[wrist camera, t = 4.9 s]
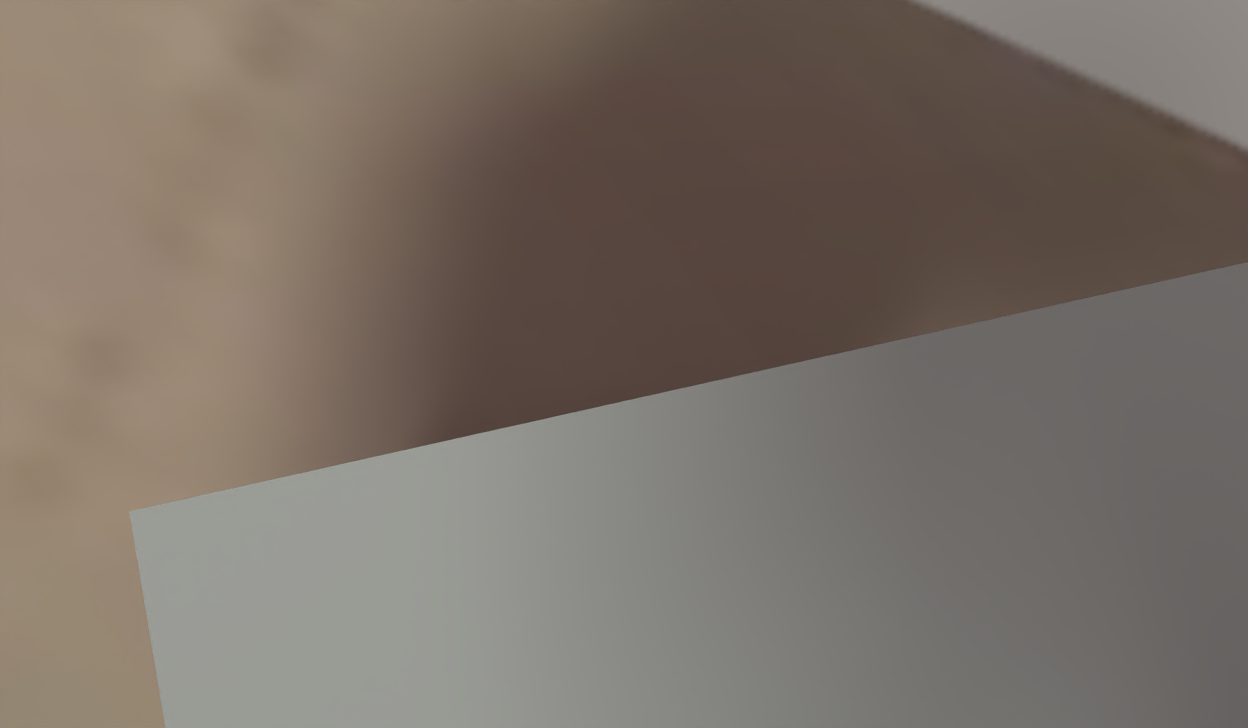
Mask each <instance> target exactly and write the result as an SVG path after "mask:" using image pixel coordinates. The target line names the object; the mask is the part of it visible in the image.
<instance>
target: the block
mask: <svg viewBox="0 0 1248 728" xmlns="http://www.w3.org/2000/svg"><path fill="white" fill-rule="evenodd" d="M129 513H130V519H131V525H132V531H133V537H134V543H135V549H136V555H137V561H138V567H139V573H140V579H141V585H142V591H143V597H144V603H145V609H146V615H147V621H148V627H149V633H150V639H151V645H152V651H153V657H154V663H155V669H156V675H157V681H158V686H159V692H160V698H161V704H162V710H163V716H164V722H165V728H1248V262H1245V263H1241V264H1237V265H1232V266H1228V267H1223V268H1219V269H1214V270H1210V271H1205V272H1201V273H1196V274H1192V275H1187V276H1183V277H1178V278H1174V279H1169V280H1165V281H1160V282H1156V283H1151V284H1147V285H1142V286H1138V287H1133V288H1129V289H1124V290H1120V291H1116V292H1111V293H1107V294H1102V295H1098V296H1093V297H1089V298H1084V299H1080V300H1075V301H1071V302H1066V303H1062V304H1057V305H1053V306H1048V307H1044V308H1039V309H1035V310H1030V311H1026V312H1021V313H1017V314H1012V315H1008V316H1003V317H999V318H994V319H990V320H986V321H981V322H977V323H972V324H968V325H963V326H959V327H954V328H950V329H945V330H941V331H936V332H932V333H927V334H923V335H918V336H914V337H909V338H905V339H900V340H896V341H891V342H887V343H882V344H878V345H873V346H869V347H864V348H860V349H856V350H851V351H847V352H842V353H838V354H833V355H829V356H824V357H820V358H815V359H811V360H806V361H802V362H797V363H793V364H788V365H784V366H779V367H775V368H770V369H766V370H761V371H757V372H752V373H748V374H743V375H739V376H734V377H730V378H726V379H721V380H717V381H712V382H708V383H703V384H699V385H694V386H690V387H685V388H681V389H676V390H672V391H667V392H663V393H658V394H654V395H649V396H645V397H640V398H636V399H631V400H627V401H622V402H618V403H613V404H609V405H604V406H600V407H596V408H591V409H587V410H582V411H578V412H573V413H569V414H564V415H560V416H555V417H551V418H546V419H542V420H537V421H533V422H528V423H524V424H519V425H515V426H510V427H506V428H501V429H497V430H492V431H488V432H483V433H479V434H475V435H470V436H466V437H461V438H457V439H452V440H448V441H443V442H439V443H434V444H430V445H425V446H421V447H416V448H412V449H407V450H403V451H398V452H394V453H389V454H385V455H380V456H376V457H371V458H367V459H362V460H358V461H353V462H349V463H345V464H340V465H336V466H331V467H327V468H322V469H318V470H313V471H309V472H304V473H300V474H295V475H291V476H286V477H282V478H277V479H273V480H268V481H264V482H259V483H255V484H250V485H246V486H241V487H237V488H232V489H228V490H223V491H219V492H215V493H210V494H206V495H201V496H197V497H192V498H188V499H183V500H179V501H174V502H170V503H165V504H161V505H156V506H152V507H147V508H143V509H138V510H134V511H129Z"/></svg>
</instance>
